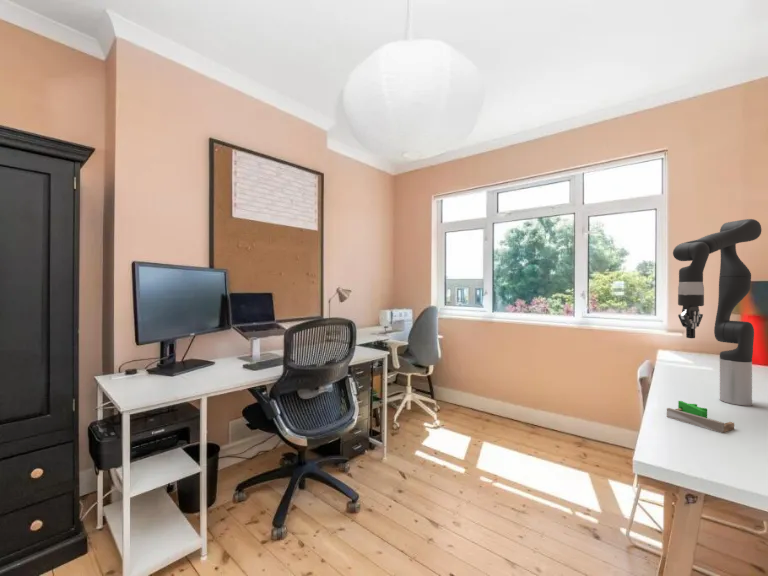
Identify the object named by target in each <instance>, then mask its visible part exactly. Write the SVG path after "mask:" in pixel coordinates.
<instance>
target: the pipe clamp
mask: <svg viewBox="0 0 768 576" xmlns="http://www.w3.org/2000/svg"><path fill="white" fill-rule="evenodd" d="M677 403H678V405H677V409H678V408H680V409H682V411H683V412H686V413H690V414H694V415H697V416H701V417H705V418H708V408H705V407H699V406H698V404H697V403H687V402H685V401H682V400H678V401H677Z"/></svg>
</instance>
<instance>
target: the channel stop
mask: <svg viewBox="0 0 768 576" xmlns="http://www.w3.org/2000/svg"><path fill="white" fill-rule="evenodd" d="M666 417H667V418H669V419H673V420H676V421H680V422H683V423H687V424H691V425H693V424H694V426H696V425H697V427H700V426H701V427H700V428H703V427H705V428H704V429H707V428H708V429H707V430H710V429H711V431H714V430H715V431H714V432H717V433H720V432H721V433H720V434H723V433H726V432H729V431H732V430H734V429H735V422H733V421H729V422H722V421H720V420H719V421H718V420H715V419H711V418H708V417H707V418H705V417H701V416H697V415H694V414H690V413H686V412H683V411H682V409H680V408H678V407H677V408H672V407H667V408H666Z"/></svg>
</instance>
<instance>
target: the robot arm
mask: <svg viewBox="0 0 768 576" xmlns="http://www.w3.org/2000/svg"><path fill="white" fill-rule="evenodd" d="M761 235H762V225H761V223H760V222H759V221H758V220H756V219H754V218H753V219H752V218H748V219H747V218H746V219H740V220H735V221H728V222H724V223H723V224H722V225H721V226H720V230H719V232H718V231H717V232H715V233H711V234H707V235H704V236H702V237H700V238H697V239H693V240H690V241H686V242H682V243H680V244H677V245H676V246H675V247H674V249H673V251H672V256H673V258H674V259H675V260H677V261H680V262H690V264H689V265H687V266H684V267H681V268H679V270H678V286H677V305H678V306H680V307H681V306H682V309H681V314H680V313H679V314H678V315H677V317H678V318H679V321H680V324H681V326H682V327H683V328H685V329H686V330H685V334H686V335H685V337H686V339H695V338H696V329H697V328H698V327H699V326H700V324H701V322H702V320H703V317H704V316H703V315H704V314H703V313H701V312H700V308H699V307H703V306H704V305H705V286H704V269H705V267H706V265H707V261H708V258H709V256H710V254H713V253H716V252H718V251H720V267H719V275H718V276H719V277H718V279H719V280H718V302H717V311H716V315H715V320H714V329H713V331H714V338H715V339H716V341H717V342H719V343H720V342H721V343H728V344H737V347H736V348H734V349H730V350H723V351H720V352H719V400H720V401H721V402H725V403H727V404H731V405H737V406H744V407H745V406H747V407H748V406H752V405H753V355H754V341H755V328H754V326H753V324H752V323H751V322H749V321H739V320H731V315H732V313H733V310H734V309H735V307H736V306H737V305H738V304H740V302H741V301H742V300H744V298H745V297H746V296H747V295H748V293H749V292H750V291H751V287H752V286H751V285H752V273H751V270H750V269H749V268H748V266H747V265H746V264H745V263H744V262H743V261H742V260H741V258H739V255H738V254H737V253H738V252H737V249H736V248H737V247H736V246H737V244H739V243H741V244H742V243H747V242H753V241H755V240H758V239H759V237H760V236H761Z"/></svg>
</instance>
